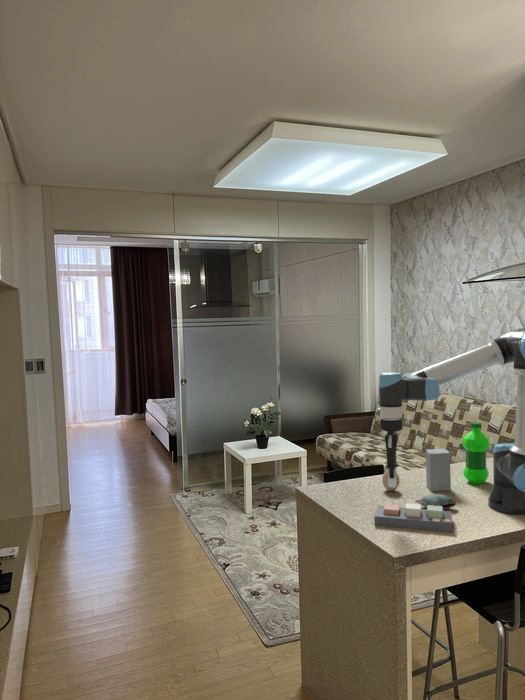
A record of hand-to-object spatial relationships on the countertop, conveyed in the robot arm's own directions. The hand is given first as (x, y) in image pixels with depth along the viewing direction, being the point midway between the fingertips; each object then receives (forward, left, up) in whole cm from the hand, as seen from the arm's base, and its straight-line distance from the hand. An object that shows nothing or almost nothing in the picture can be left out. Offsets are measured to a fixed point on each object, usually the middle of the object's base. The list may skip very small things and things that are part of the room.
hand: (392, 486), depth 181 cm
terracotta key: (0, 0, -11) cm, 11 cm away
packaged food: (-14, -16, -12) cm, 25 cm away
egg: (+3, -32, -12) cm, 34 cm away
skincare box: (-15, -39, -12) cm, 43 cm away
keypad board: (-7, 0, -12) cm, 14 cm away
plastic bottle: (-30, -52, -12) cm, 61 cm away
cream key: (-7, 0, -10) cm, 12 cm away
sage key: (-14, 0, -10) cm, 17 cm away
